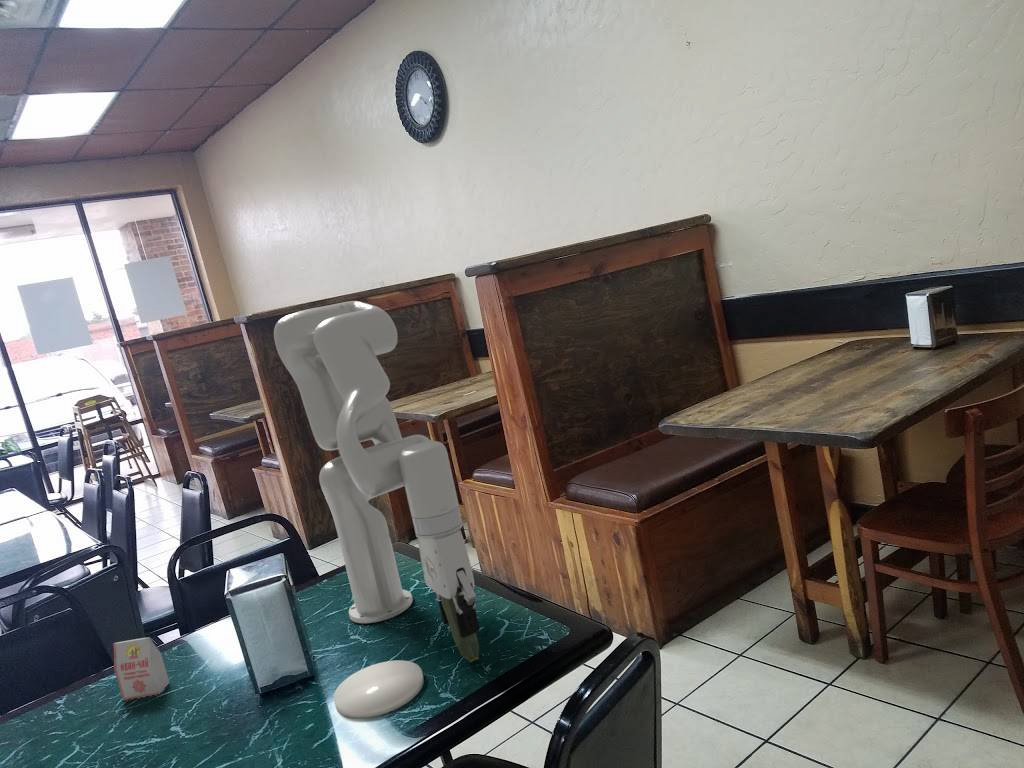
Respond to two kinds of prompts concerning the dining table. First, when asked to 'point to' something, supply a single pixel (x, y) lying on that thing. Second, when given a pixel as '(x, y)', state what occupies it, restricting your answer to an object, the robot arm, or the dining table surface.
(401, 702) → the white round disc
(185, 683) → the dining table surface
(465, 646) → the vegetable
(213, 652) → the dining table surface
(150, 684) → the tea bag
